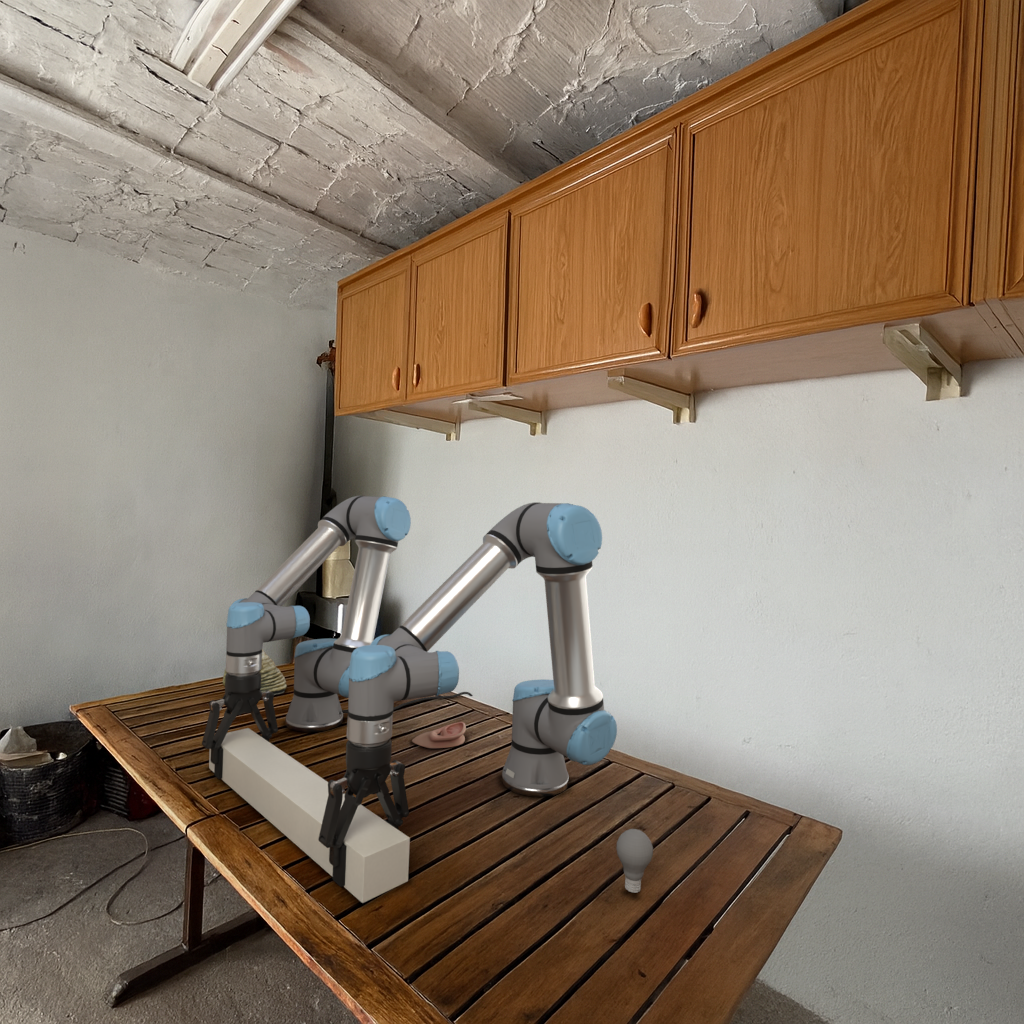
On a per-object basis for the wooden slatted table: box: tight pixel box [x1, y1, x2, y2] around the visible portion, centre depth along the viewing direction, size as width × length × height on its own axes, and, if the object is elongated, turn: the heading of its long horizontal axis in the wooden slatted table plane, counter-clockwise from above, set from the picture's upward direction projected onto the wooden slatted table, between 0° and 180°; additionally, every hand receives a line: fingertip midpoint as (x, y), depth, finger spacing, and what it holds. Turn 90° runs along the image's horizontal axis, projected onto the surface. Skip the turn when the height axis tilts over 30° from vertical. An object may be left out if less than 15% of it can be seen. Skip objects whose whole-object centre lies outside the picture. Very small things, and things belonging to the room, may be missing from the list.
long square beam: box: [208, 727, 411, 904], centre depth 125 cm, size 65×9×7 cm, turn 45°
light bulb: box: [615, 828, 654, 894], centre depth 106 cm, size 6×6×10 cm
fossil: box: [222, 648, 288, 696], centre depth 198 cm, size 9×18×15 cm, turn 132°
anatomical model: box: [411, 721, 467, 749], centre depth 167 cm, size 13×4×12 cm
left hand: (239, 770), depth 143 cm, fingers closed on long square beam, 9 cm apart
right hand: (363, 871), depth 107 cm, fingers closed on long square beam, 9 cm apart
